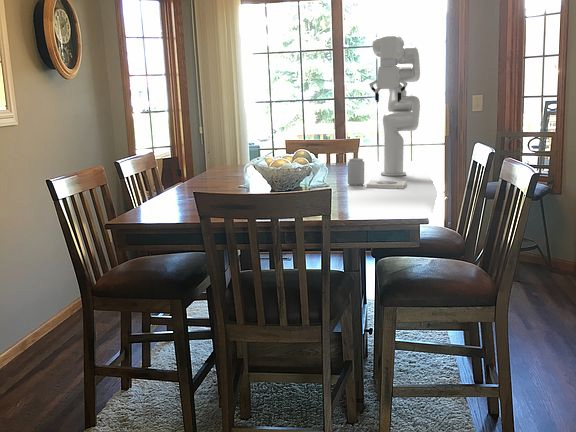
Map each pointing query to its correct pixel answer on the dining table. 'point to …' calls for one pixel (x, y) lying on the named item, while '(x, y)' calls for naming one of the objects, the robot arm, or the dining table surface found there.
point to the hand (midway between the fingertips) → (388, 101)
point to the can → (356, 172)
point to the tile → (386, 184)
